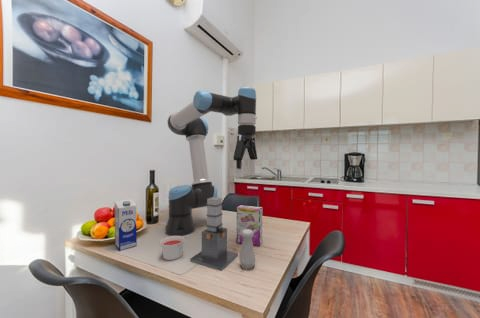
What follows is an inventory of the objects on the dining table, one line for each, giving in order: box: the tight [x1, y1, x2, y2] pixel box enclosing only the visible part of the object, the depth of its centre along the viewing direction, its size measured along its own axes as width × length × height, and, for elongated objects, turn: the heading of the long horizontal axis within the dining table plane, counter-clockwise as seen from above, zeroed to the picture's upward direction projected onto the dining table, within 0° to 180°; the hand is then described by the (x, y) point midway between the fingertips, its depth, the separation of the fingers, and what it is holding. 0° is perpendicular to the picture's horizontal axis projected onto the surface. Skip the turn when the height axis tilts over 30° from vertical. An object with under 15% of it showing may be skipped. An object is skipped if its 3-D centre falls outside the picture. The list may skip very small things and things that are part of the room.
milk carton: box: [114, 198, 138, 252], centre depth 89 cm, size 7×7×20 cm
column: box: [206, 196, 223, 234], centre depth 78 cm, size 4×4×22 cm
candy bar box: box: [236, 204, 263, 247], centre depth 92 cm, size 11×5×16 cm, turn 71°
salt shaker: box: [239, 229, 256, 270], centre depth 73 cm, size 6×6×13 cm
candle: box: [159, 235, 185, 261], centre depth 80 cm, size 9×9×6 cm
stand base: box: [189, 226, 239, 272], centre depth 78 cm, size 14×12×12 cm
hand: (246, 175), depth 87 cm, fingers open, 13 cm apart
